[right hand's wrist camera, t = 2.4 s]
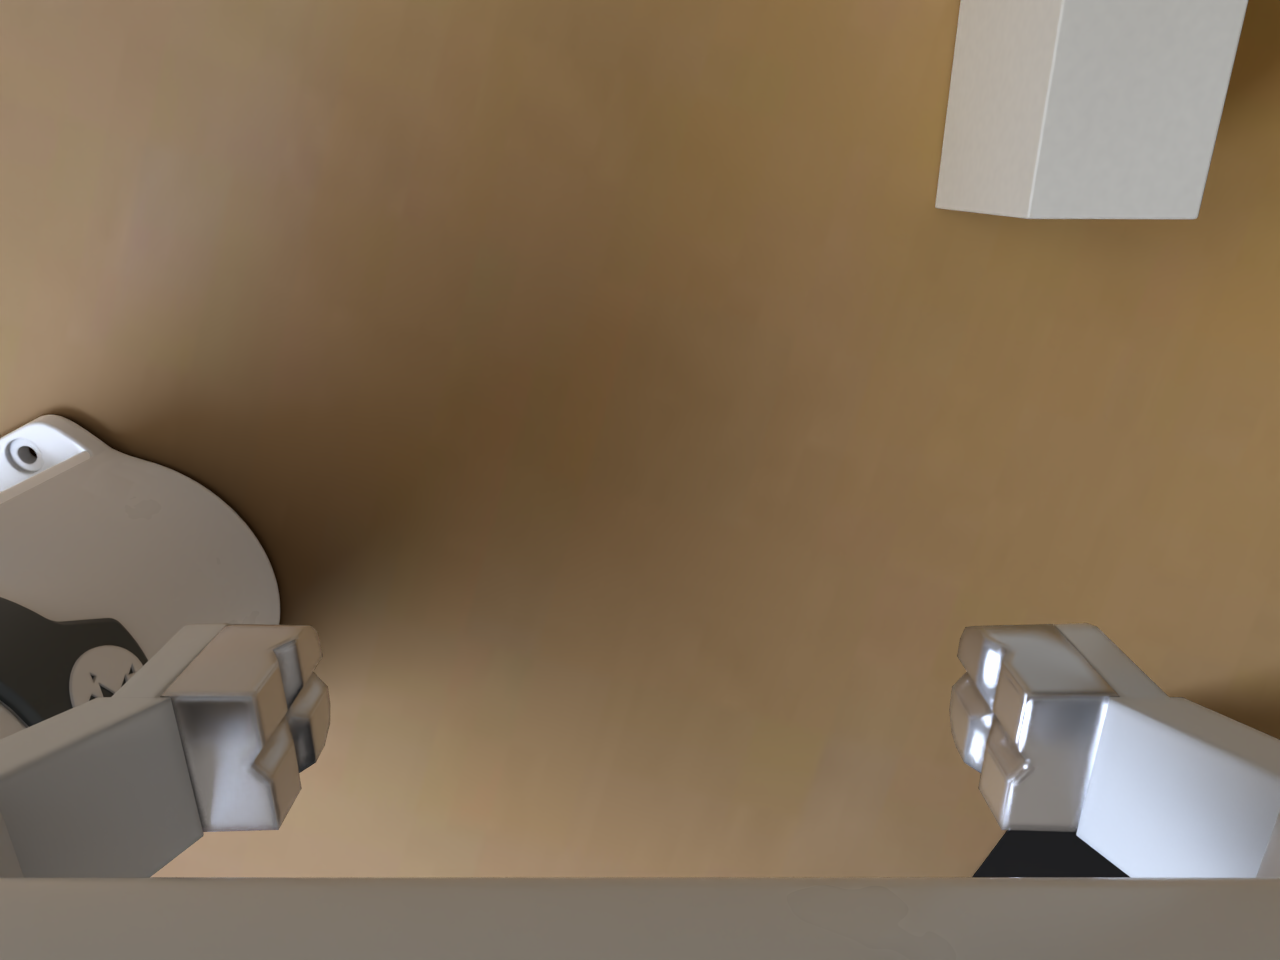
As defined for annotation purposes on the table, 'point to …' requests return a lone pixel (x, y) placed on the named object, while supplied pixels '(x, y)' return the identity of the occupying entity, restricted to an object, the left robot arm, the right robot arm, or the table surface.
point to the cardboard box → (1045, 857)
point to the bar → (1086, 106)
